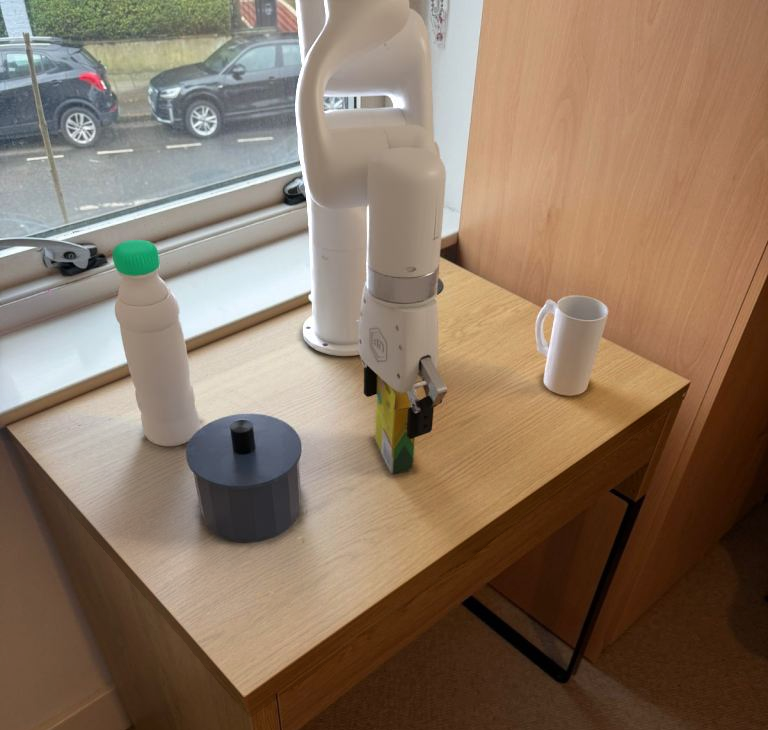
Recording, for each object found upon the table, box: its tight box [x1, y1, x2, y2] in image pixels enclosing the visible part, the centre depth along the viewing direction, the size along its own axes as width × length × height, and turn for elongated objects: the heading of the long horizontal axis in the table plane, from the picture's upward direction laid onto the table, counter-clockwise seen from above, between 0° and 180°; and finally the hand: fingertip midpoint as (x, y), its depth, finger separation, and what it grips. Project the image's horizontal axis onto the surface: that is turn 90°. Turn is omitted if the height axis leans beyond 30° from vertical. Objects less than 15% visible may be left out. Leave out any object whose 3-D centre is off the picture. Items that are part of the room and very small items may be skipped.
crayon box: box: [374, 375, 416, 475], centre depth 92 cm, size 7×3×12 cm, turn 17°
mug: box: [534, 294, 609, 397], centre depth 106 cm, size 10×7×12 cm, turn 43°
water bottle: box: [112, 239, 201, 447], centre depth 90 cm, size 7×7×25 cm
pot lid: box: [185, 413, 302, 489], centre depth 82 cm, size 12×12×4 cm
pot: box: [192, 460, 302, 544], centre depth 86 cm, size 11×11×8 cm
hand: (396, 413), depth 91 cm, fingers open, 9 cm apart
